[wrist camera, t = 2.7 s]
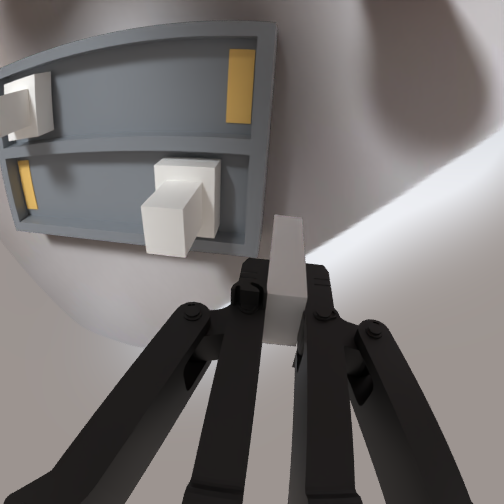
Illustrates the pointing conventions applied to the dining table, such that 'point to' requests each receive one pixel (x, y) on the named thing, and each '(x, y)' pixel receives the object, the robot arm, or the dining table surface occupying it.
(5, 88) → the tab
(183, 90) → the grey divided tray
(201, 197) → the tab
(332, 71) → the dining table surface
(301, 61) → the dining table surface
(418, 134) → the dining table surface
